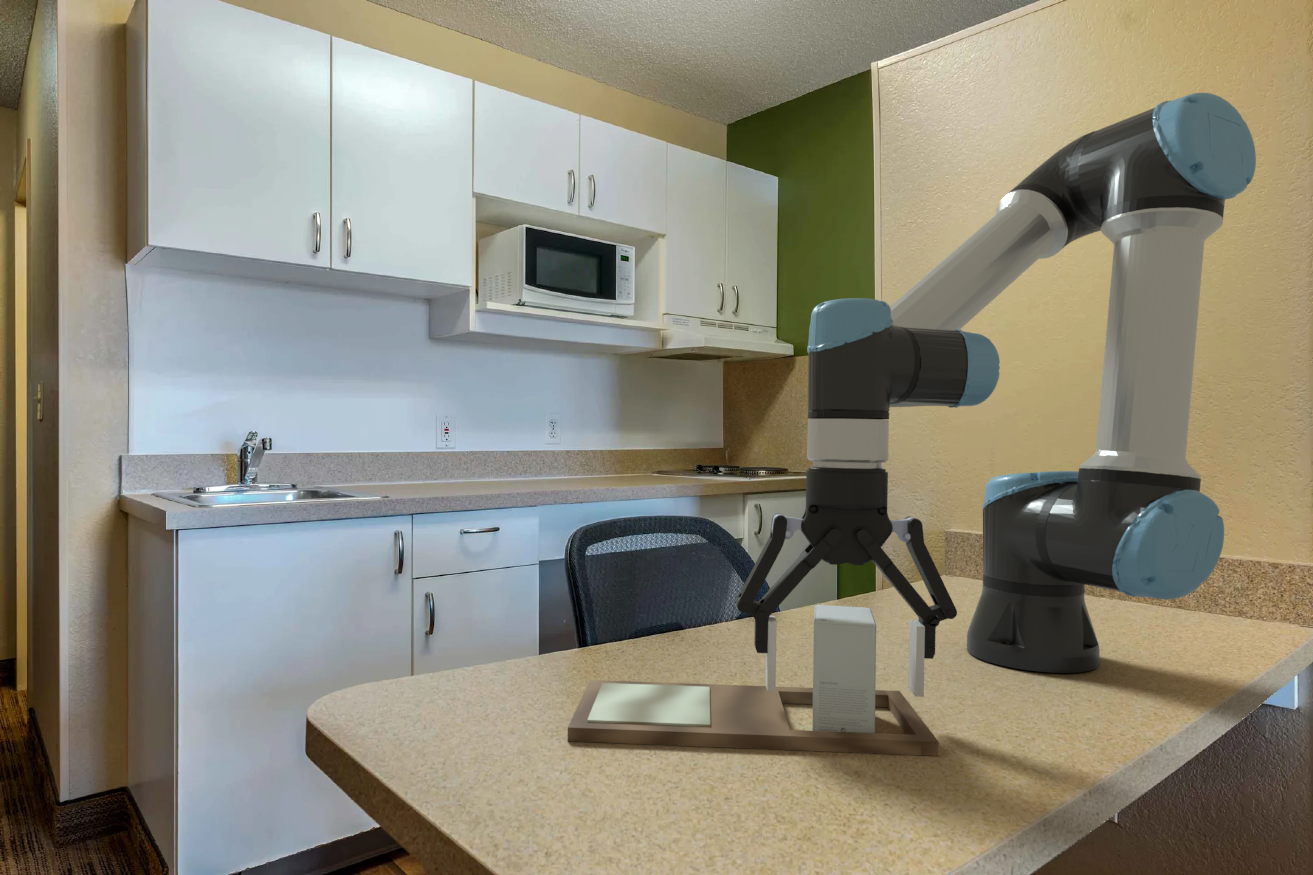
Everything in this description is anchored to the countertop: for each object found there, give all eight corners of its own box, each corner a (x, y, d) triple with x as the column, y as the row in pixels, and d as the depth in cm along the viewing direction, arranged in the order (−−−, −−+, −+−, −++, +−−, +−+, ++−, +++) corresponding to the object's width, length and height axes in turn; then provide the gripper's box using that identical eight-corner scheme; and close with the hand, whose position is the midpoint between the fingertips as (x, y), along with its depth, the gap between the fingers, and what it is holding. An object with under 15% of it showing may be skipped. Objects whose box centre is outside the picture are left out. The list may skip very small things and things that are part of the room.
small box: (875, 742, 73) (877, 624, 73) (811, 736, 74) (813, 620, 74) (870, 712, 81) (872, 606, 81) (812, 708, 82) (814, 603, 82)
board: (899, 702, 84) (899, 688, 84) (938, 755, 70) (938, 739, 70) (589, 691, 86) (589, 677, 86) (567, 740, 72) (567, 725, 72)
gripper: (968, 466, 80) (964, 682, 80) (714, 461, 82) (710, 673, 82) (995, 469, 73) (991, 707, 73) (715, 463, 74) (710, 697, 74)
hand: (842, 689), depth 77 cm, fingers open, 13 cm apart
